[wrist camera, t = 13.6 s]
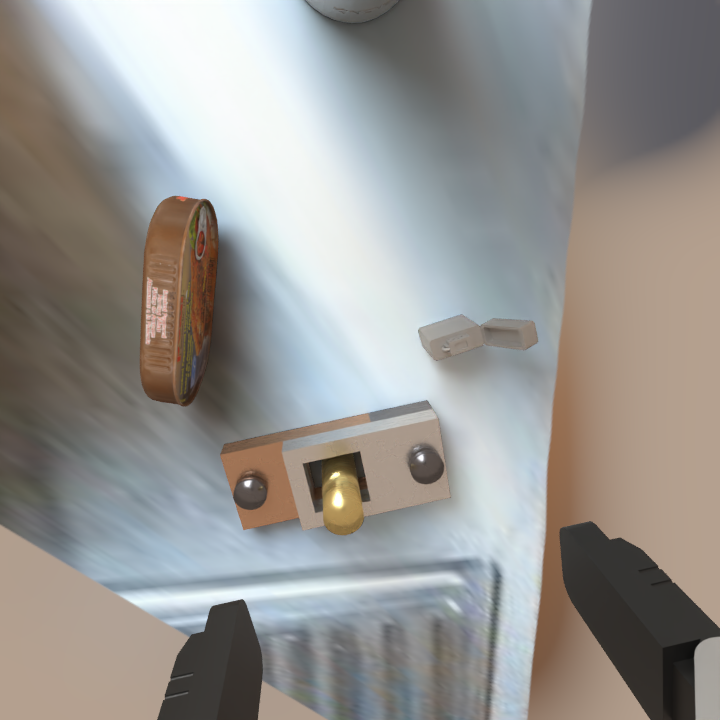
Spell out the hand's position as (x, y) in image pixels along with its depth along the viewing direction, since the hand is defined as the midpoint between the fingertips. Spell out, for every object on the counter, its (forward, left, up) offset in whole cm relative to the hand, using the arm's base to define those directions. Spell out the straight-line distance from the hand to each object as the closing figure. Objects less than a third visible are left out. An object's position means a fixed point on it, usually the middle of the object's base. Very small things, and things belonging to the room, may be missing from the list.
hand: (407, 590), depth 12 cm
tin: (-5, -11, -30) cm, 33 cm away
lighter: (+2, +10, -30) cm, 32 cm away
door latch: (+12, -3, -30) cm, 33 cm away
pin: (+12, -3, -30) cm, 33 cm away
